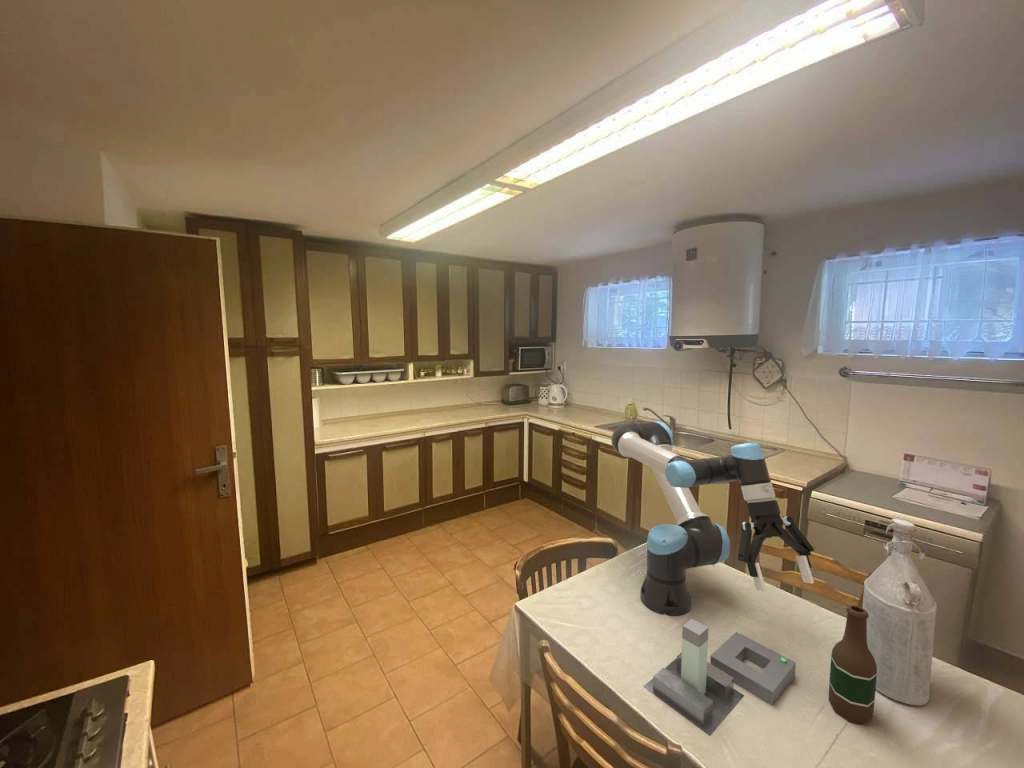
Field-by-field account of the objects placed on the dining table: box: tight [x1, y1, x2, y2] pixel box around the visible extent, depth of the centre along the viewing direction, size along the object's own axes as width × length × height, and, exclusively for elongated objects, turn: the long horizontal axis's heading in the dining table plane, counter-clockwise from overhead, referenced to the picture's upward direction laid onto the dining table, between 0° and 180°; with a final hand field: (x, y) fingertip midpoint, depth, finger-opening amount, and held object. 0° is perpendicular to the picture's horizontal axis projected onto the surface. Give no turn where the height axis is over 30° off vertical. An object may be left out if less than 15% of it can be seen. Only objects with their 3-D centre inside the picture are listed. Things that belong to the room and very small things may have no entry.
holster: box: [643, 651, 745, 737], centre depth 98 cm, size 16×16×4 cm
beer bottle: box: [828, 604, 877, 726], centre depth 92 cm, size 8×8×24 cm
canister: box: [861, 518, 938, 706], centre depth 99 cm, size 13×17×40 cm
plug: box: [681, 618, 709, 694], centre depth 97 cm, size 4×4×16 cm
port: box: [709, 631, 797, 706], centre depth 103 cm, size 14×14×5 cm
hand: (785, 586), depth 106 cm, fingers open, 13 cm apart
